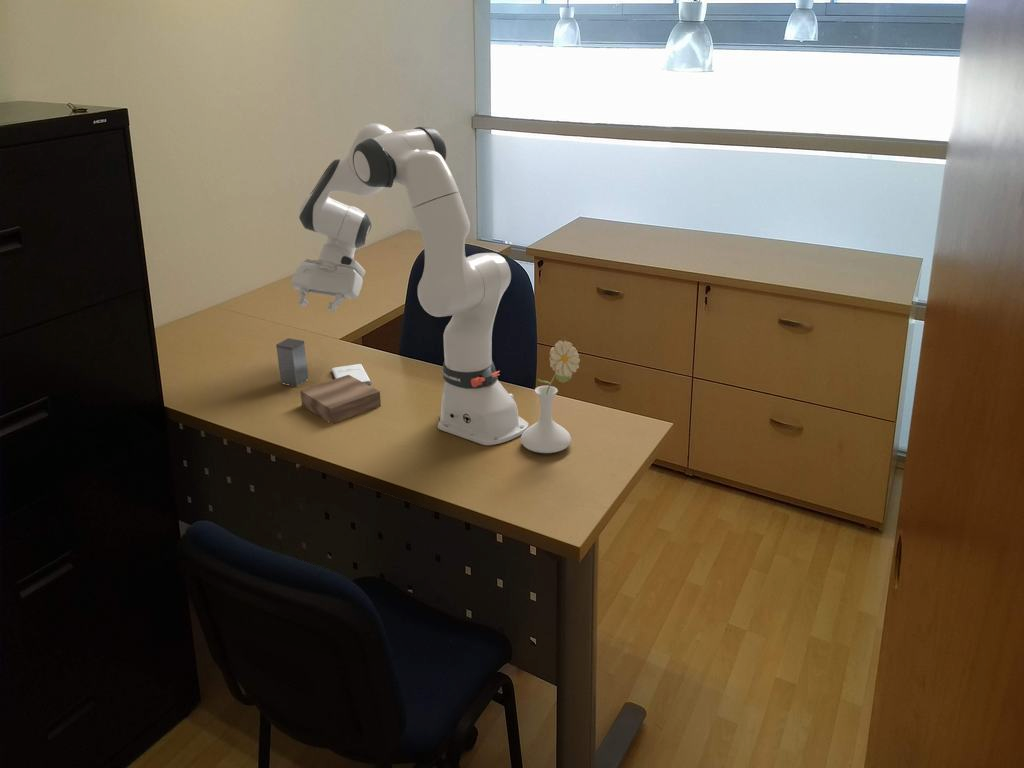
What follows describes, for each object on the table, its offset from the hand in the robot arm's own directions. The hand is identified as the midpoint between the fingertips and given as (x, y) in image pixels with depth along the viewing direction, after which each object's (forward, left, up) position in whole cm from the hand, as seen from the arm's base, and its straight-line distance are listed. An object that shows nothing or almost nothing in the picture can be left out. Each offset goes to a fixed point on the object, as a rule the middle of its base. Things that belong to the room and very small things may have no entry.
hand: (316, 307), depth 230 cm
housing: (-5, +11, -17) cm, 21 cm away
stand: (-26, +10, -16) cm, 32 cm away
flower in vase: (-76, -13, -17) cm, 79 cm away
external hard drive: (-13, -1, -17) cm, 22 cm away
